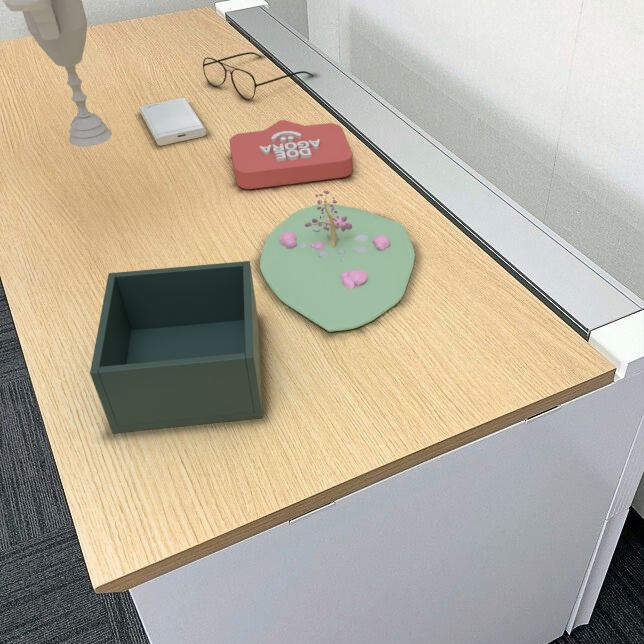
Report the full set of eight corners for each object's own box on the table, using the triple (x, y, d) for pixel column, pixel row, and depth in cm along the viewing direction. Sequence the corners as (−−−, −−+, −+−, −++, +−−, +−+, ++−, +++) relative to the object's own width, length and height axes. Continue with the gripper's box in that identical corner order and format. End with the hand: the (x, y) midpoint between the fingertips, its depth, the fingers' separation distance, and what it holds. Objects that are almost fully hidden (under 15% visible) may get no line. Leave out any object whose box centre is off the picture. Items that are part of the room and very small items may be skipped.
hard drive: (139, 106, 127) (156, 137, 119) (185, 96, 129) (205, 126, 121) (141, 115, 128) (158, 146, 120) (186, 105, 130) (206, 135, 122)
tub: (112, 433, 76) (89, 373, 70) (126, 332, 87) (108, 272, 81) (263, 418, 77) (253, 357, 71) (258, 320, 89) (249, 260, 82)
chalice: (122, 120, 92) (82, -37, 79) (120, 146, 87) (77, -16, 74) (62, 126, 91) (12, -31, 78) (56, 153, 86) (1, -10, 73)
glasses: (202, 82, 137) (200, 54, 134) (261, 65, 146) (260, 39, 143) (255, 104, 130) (255, 75, 127) (313, 85, 139) (314, 58, 136)
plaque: (336, 110, 119) (355, 155, 109) (336, 132, 122) (355, 178, 112) (226, 122, 117) (234, 170, 107) (229, 144, 120) (238, 193, 109)
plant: (452, 308, 89) (459, 248, 83) (288, 345, 85) (282, 285, 79) (384, 202, 107) (385, 145, 100) (245, 228, 103) (237, 171, 96)
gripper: (2, -146, 77) (43, -7, 87) (-48, -96, 62) (8, 65, 72) (63, -149, 78) (98, -10, 87) (28, -100, 63) (74, 60, 73)
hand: (57, 24), depth 80 cm, fingers closed on chalice, 6 cm apart
